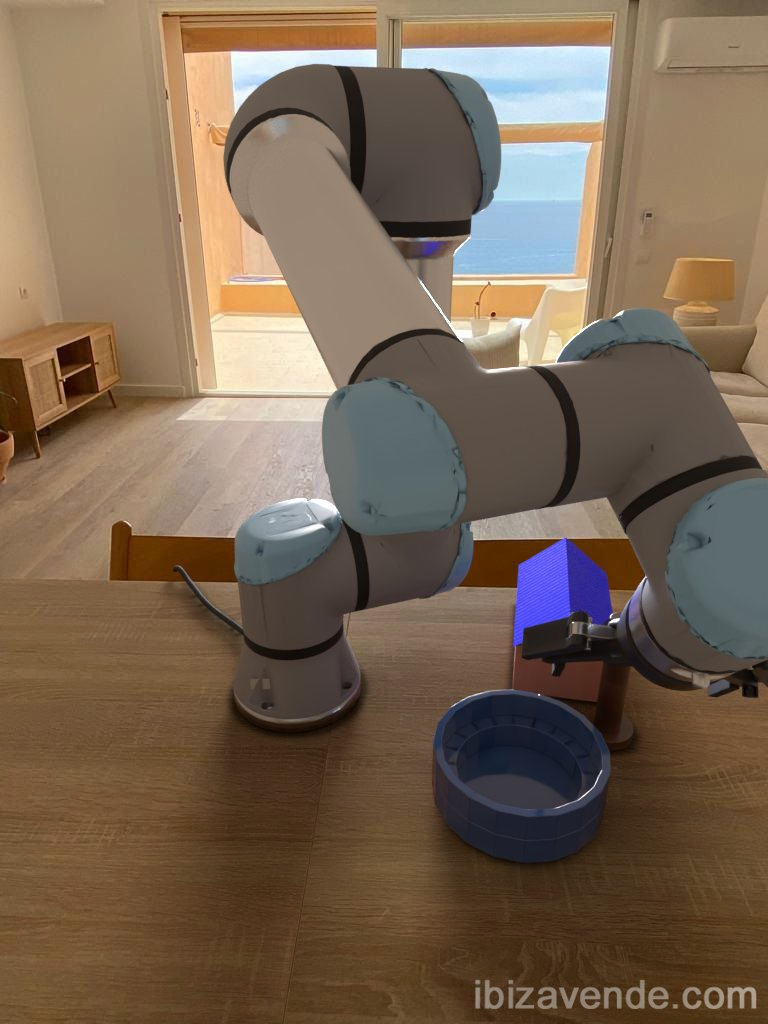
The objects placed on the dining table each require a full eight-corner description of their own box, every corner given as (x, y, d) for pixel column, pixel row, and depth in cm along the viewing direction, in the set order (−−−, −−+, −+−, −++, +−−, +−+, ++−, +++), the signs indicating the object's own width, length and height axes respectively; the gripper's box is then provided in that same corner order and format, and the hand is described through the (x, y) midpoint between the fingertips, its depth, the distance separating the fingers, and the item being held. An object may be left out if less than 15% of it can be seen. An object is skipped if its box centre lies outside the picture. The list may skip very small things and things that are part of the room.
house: (509, 692, 84) (516, 610, 79) (515, 604, 101) (521, 533, 97) (612, 705, 81) (626, 622, 77) (600, 613, 99) (611, 541, 94)
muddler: (569, 722, 79) (584, 611, 73) (610, 710, 81) (628, 600, 74) (600, 756, 74) (619, 640, 68) (643, 742, 76) (665, 628, 70)
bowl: (406, 761, 74) (407, 713, 71) (540, 720, 79) (545, 674, 76) (482, 894, 60) (486, 841, 57) (638, 834, 65) (649, 783, 62)
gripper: (485, 658, 45) (491, 694, 65) (917, 713, 40) (783, 734, 60) (496, 549, 48) (499, 615, 67) (905, 588, 43) (779, 647, 62)
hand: (632, 671), depth 64 cm, fingers open, 13 cm apart
